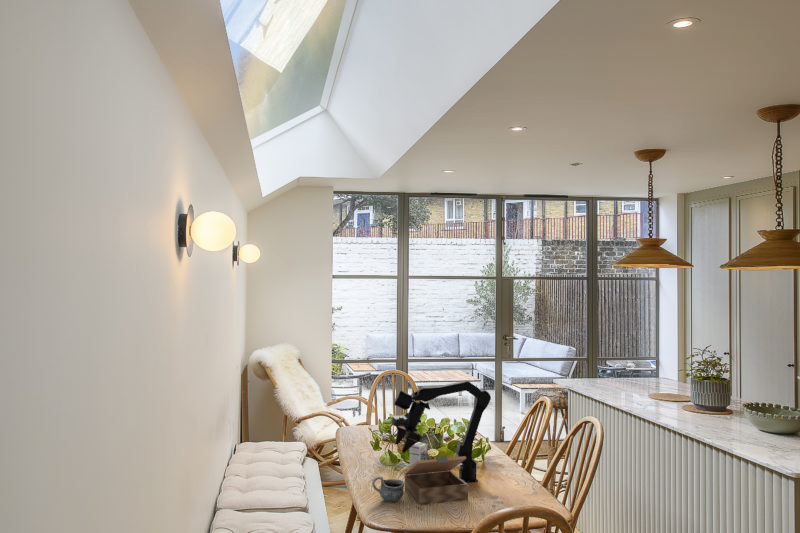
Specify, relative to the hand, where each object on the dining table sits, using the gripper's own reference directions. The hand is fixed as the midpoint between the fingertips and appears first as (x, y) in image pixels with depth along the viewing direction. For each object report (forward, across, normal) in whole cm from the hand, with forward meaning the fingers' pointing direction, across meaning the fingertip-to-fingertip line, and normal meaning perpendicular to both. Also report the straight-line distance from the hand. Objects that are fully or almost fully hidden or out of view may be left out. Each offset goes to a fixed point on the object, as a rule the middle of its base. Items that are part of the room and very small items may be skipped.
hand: (399, 448), depth 261 cm
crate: (+7, +22, +12) cm, 26 cm away
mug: (+15, +23, -6) cm, 28 cm away
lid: (-2, +21, +8) cm, 22 cm away
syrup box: (+9, -1, +14) cm, 17 cm away
